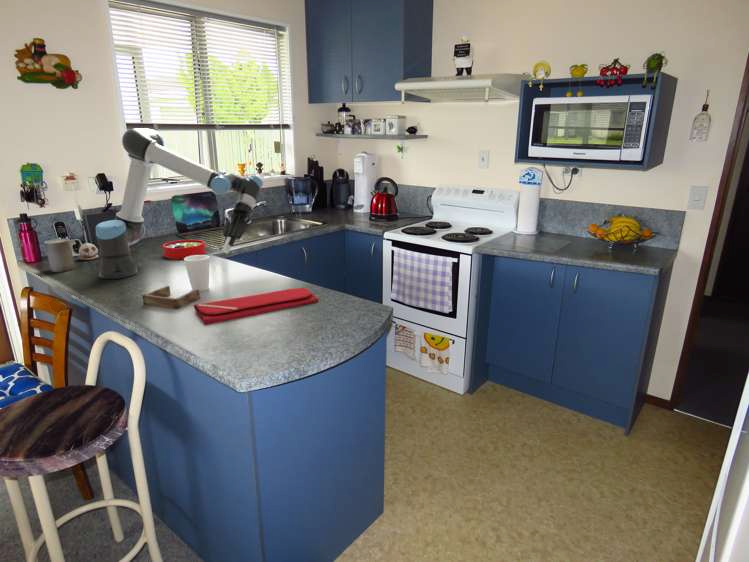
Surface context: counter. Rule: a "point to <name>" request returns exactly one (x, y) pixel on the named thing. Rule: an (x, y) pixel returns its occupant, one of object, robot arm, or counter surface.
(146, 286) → the counter surface
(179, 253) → the red round bowl
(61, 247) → the grey tapered container
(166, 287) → the brown bent bar
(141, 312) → the counter surface
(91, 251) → the decorative ornament
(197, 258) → the foam cup
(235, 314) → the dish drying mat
